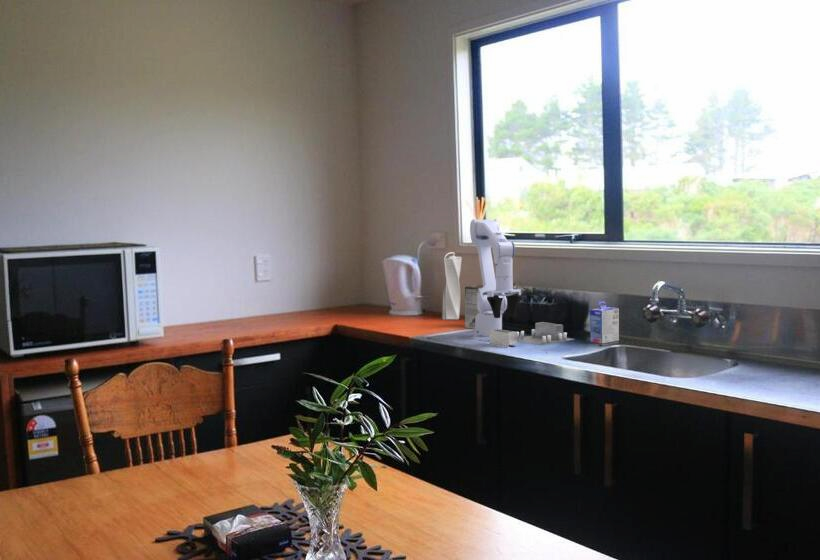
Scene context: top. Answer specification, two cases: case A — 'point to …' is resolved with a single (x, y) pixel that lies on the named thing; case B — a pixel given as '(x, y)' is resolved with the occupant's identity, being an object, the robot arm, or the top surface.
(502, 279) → the robot arm
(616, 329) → the ink cartridge box
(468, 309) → the coffee box
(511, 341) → the grey rectangular block
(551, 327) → the seated drive
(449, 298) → the skyscraper
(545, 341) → the tray
